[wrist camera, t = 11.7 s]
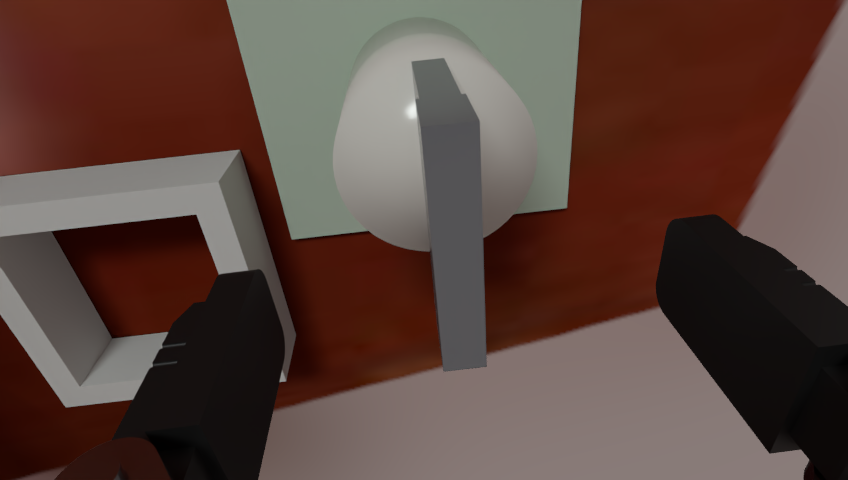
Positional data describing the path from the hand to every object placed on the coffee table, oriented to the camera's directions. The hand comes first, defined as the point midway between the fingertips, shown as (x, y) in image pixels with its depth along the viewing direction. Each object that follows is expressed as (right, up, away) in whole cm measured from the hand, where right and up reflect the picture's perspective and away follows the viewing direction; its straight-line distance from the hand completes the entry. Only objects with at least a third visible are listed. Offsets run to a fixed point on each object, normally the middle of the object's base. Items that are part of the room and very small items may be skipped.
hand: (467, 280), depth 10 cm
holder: (-16, -1, +19) cm, 25 cm away
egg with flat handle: (-1, +8, +15) cm, 17 cm away
